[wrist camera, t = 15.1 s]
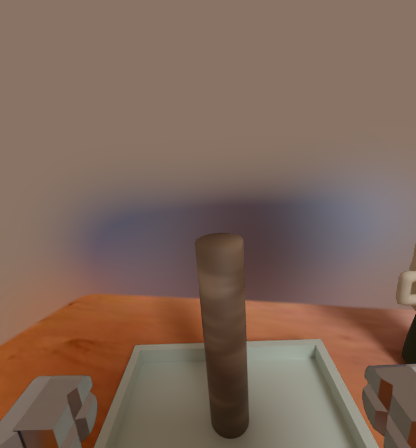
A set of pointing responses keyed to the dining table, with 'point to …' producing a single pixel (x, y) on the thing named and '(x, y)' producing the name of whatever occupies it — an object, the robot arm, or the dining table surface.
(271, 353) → the sage tray
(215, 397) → the walnut pin
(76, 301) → the dining table surface
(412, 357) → the character mug
